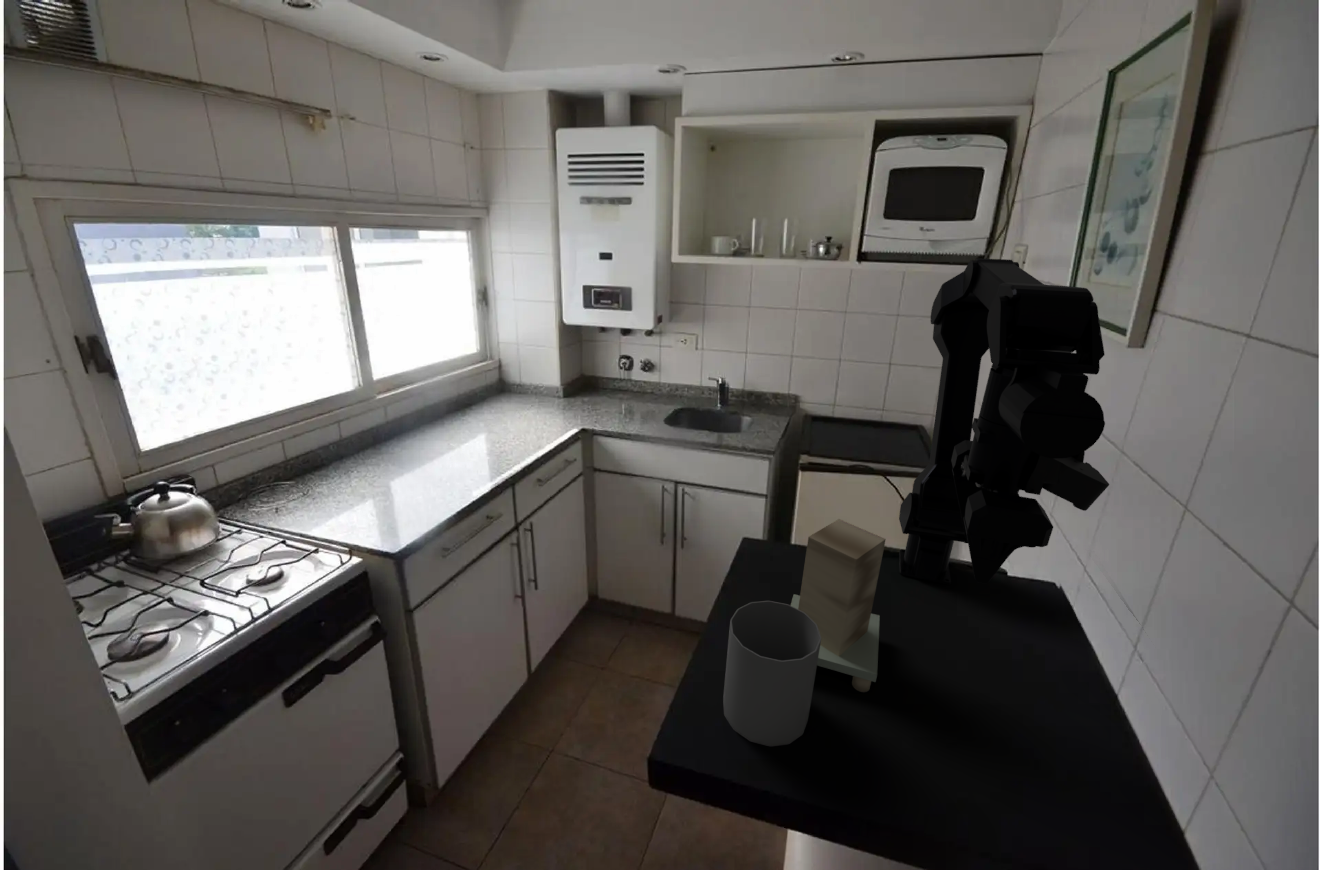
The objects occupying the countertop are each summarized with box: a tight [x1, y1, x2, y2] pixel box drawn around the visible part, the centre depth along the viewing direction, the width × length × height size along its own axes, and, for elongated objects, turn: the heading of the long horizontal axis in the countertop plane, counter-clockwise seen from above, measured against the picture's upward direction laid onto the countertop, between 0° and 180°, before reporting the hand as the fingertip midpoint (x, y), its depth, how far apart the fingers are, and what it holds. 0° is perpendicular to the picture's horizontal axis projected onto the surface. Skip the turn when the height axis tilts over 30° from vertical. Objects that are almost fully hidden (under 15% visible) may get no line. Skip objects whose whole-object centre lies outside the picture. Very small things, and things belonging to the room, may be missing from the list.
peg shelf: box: [790, 593, 880, 693], centre depth 63 cm, size 10×10×3 cm
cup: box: [722, 600, 821, 747], centre depth 54 cm, size 8×8×10 cm
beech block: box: [798, 518, 886, 656], centre depth 61 cm, size 6×6×12 cm
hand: (975, 558), depth 59 cm, fingers open, 9 cm apart
